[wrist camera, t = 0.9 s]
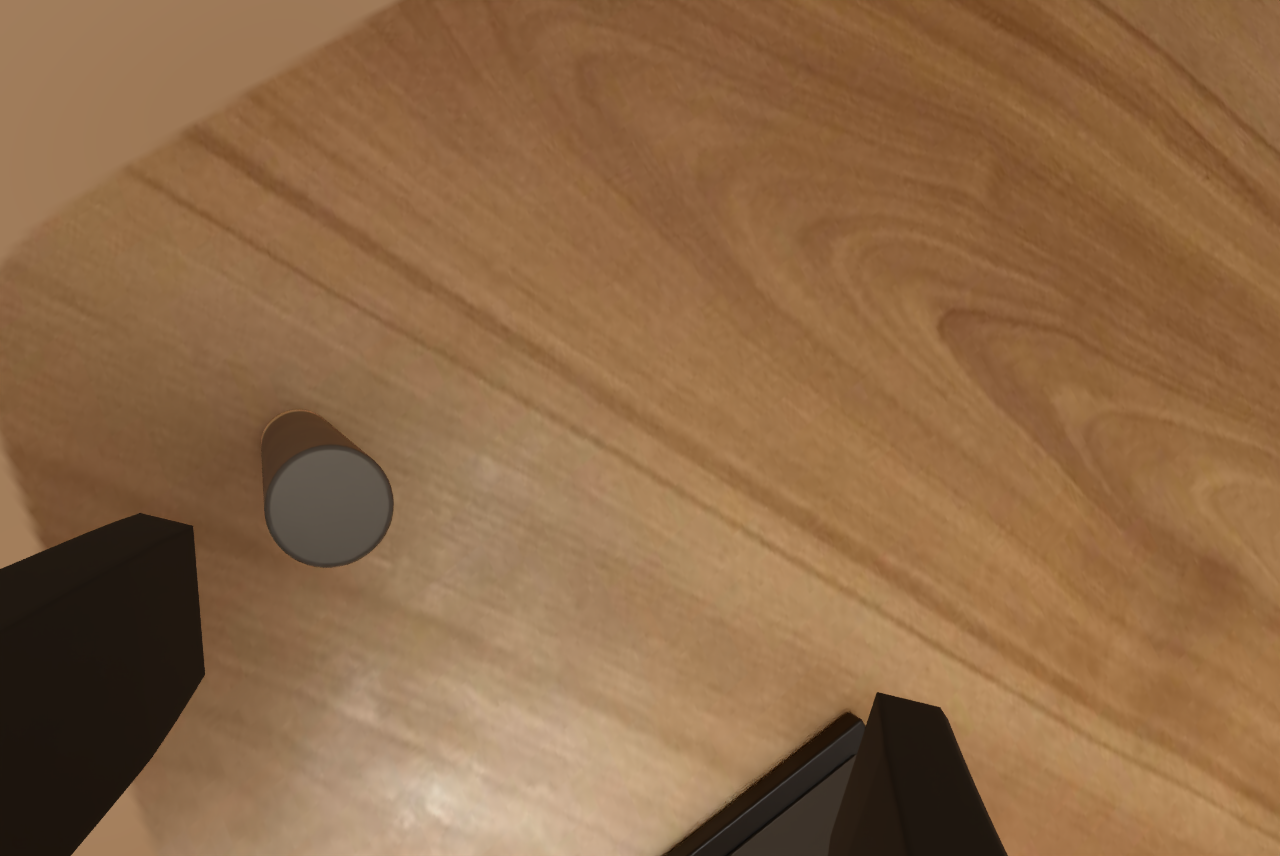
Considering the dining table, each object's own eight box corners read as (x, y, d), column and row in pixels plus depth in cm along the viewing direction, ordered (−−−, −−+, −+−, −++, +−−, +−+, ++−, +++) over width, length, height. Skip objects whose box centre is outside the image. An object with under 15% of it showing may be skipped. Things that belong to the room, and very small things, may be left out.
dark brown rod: (286, 492, 24) (308, 593, 13) (246, 432, 23) (238, 488, 13) (348, 455, 24) (417, 524, 14) (310, 395, 24) (352, 420, 13)
